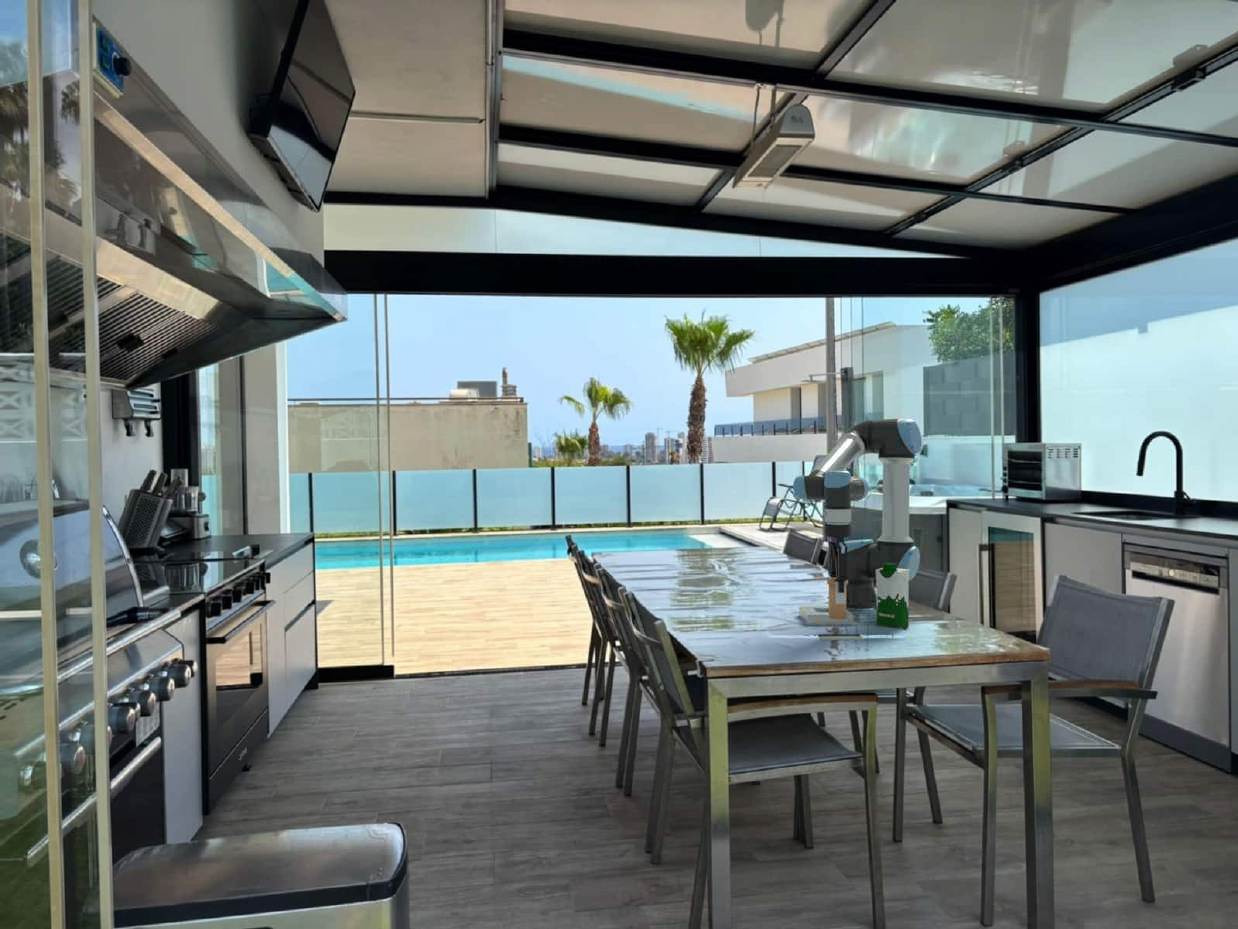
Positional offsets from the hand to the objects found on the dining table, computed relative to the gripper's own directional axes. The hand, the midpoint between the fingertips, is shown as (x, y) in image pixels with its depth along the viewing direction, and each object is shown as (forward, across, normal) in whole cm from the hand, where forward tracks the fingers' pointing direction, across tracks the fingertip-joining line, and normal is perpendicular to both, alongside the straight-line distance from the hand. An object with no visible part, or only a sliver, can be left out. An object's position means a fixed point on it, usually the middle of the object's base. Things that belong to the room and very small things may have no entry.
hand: (837, 601), depth 246 cm
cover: (+5, 0, 0) cm, 5 cm away
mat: (+10, 0, 0) cm, 10 cm away
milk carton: (+10, -10, +19) cm, 24 cm away
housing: (+10, -17, 0) cm, 20 cm away
